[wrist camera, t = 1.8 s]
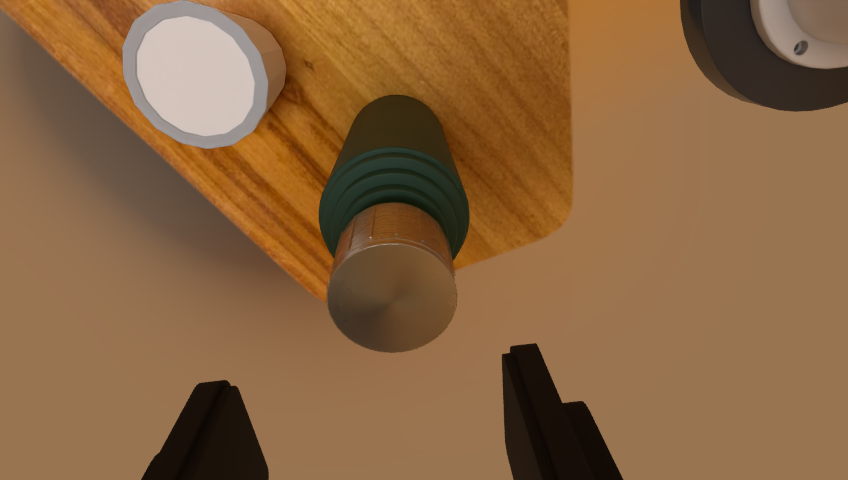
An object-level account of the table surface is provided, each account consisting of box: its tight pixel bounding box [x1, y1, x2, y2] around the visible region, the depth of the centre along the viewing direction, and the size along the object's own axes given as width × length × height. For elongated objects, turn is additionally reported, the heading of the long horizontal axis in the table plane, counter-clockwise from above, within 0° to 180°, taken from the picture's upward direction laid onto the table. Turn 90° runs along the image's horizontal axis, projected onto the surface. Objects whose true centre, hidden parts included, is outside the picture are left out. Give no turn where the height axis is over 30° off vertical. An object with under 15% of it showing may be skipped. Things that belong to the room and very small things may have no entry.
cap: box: [327, 203, 457, 353], centre depth 16 cm, size 4×4×3 cm
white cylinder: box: [123, 0, 287, 149], centre depth 26 cm, size 7×7×7 cm
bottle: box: [319, 95, 469, 261], centre depth 23 cm, size 6×6×19 cm
